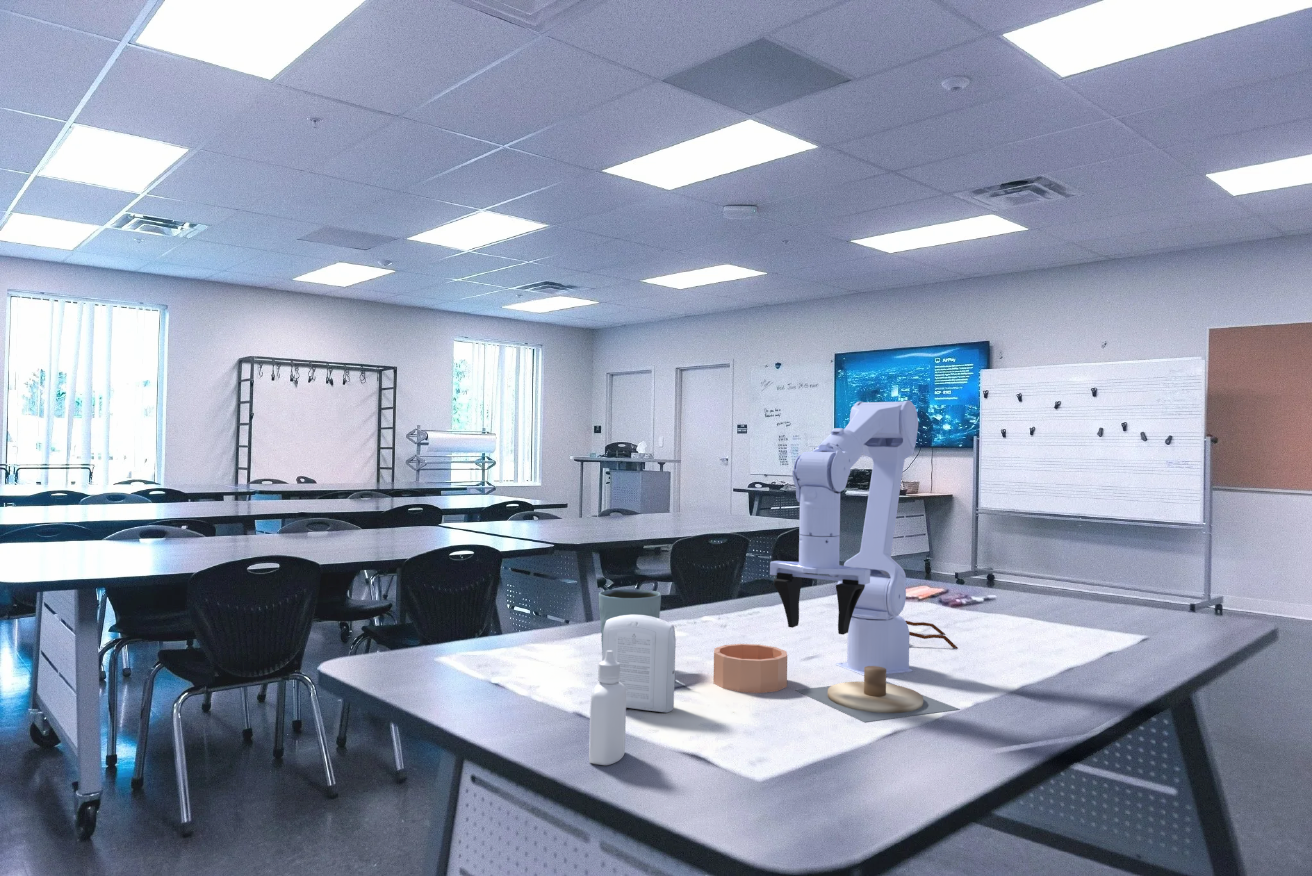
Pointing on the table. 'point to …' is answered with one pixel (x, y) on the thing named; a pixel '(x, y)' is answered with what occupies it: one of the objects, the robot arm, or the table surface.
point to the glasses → (930, 635)
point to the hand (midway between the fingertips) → (817, 629)
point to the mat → (864, 716)
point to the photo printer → (643, 659)
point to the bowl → (750, 668)
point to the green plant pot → (627, 604)
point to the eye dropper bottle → (607, 714)
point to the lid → (875, 694)
